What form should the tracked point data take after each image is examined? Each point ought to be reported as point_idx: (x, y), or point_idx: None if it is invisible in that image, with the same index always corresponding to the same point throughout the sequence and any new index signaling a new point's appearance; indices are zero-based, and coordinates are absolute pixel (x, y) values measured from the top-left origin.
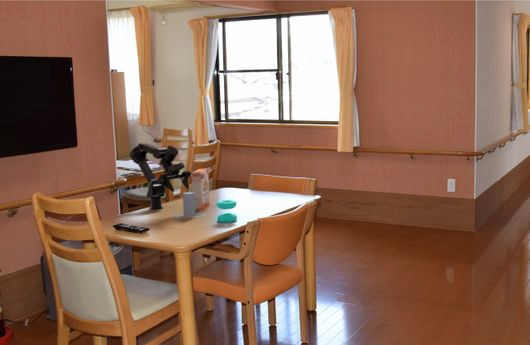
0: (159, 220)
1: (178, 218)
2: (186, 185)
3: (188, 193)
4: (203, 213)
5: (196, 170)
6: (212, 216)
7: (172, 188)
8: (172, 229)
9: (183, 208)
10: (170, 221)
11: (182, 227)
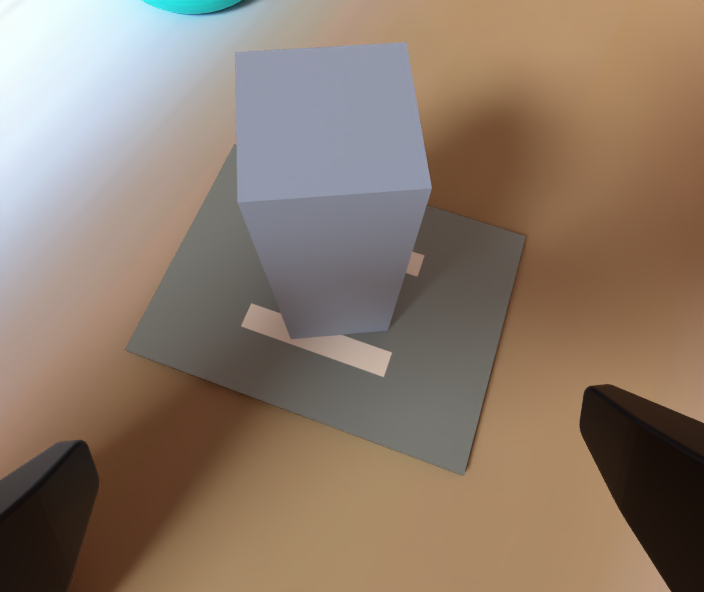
0: (674, 348)
1: (488, 256)
2: (19, 550)
3: (355, 82)
4: (167, 283)
5: None
6: (175, 149)
7: (665, 415)
8: (659, 2)
9: (396, 299)
10: (587, 232)
11: (572, 5)
